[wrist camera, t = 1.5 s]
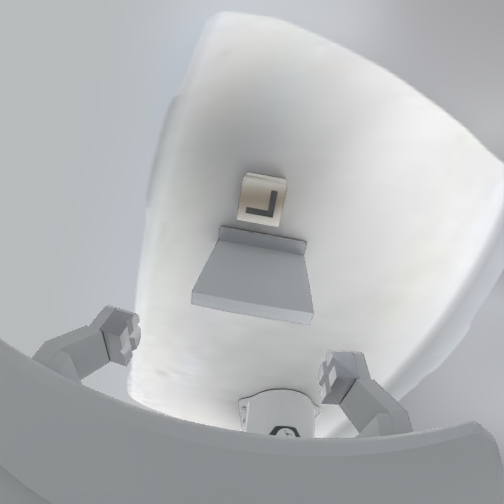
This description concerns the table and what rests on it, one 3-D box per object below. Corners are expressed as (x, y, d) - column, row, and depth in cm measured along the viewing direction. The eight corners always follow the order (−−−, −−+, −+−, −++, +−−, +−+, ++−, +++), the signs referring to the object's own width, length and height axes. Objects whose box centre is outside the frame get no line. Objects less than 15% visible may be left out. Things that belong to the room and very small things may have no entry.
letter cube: (278, 214, 37) (278, 227, 32) (240, 208, 37) (235, 219, 32) (285, 178, 35) (287, 186, 30) (246, 171, 35) (241, 178, 30)
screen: (298, 272, 40) (305, 337, 27) (217, 258, 40) (190, 317, 28) (306, 241, 38) (318, 298, 25) (220, 226, 38) (192, 276, 25)
